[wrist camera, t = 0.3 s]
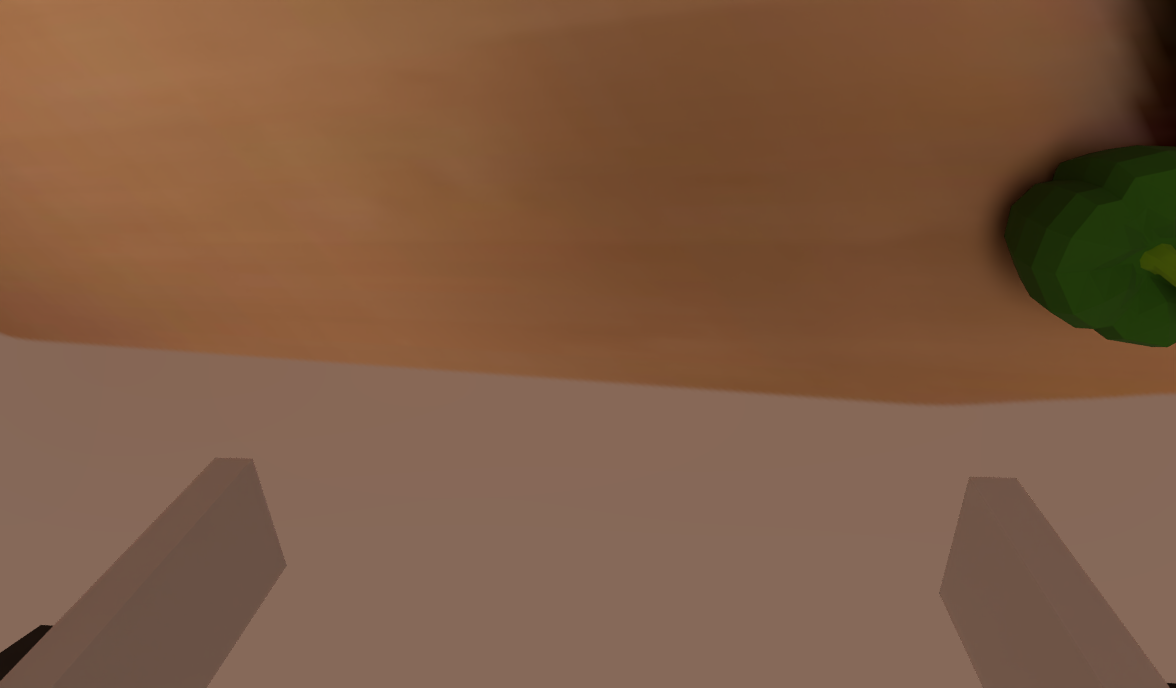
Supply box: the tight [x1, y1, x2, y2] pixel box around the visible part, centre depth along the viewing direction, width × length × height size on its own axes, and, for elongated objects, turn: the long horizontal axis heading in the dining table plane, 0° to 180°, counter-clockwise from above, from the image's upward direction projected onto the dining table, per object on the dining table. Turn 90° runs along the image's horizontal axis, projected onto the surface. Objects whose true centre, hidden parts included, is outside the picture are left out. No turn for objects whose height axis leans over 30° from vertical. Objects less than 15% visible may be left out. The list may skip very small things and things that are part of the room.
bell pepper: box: [1004, 145, 1176, 347], centre depth 30 cm, size 8×8×10 cm
